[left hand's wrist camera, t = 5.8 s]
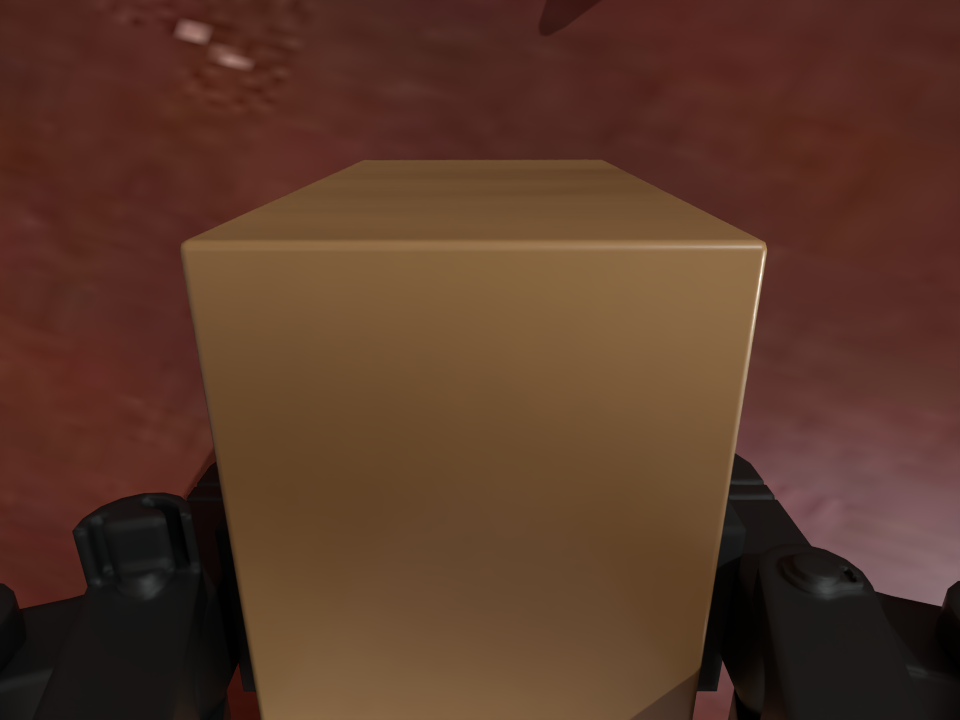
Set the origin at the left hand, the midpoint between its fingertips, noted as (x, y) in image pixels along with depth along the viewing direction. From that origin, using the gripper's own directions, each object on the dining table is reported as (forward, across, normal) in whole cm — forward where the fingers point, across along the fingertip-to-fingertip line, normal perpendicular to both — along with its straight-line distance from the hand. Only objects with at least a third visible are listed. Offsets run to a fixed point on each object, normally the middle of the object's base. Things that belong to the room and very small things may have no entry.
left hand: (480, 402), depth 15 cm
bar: (0, 0, -28) cm, 28 cm away
